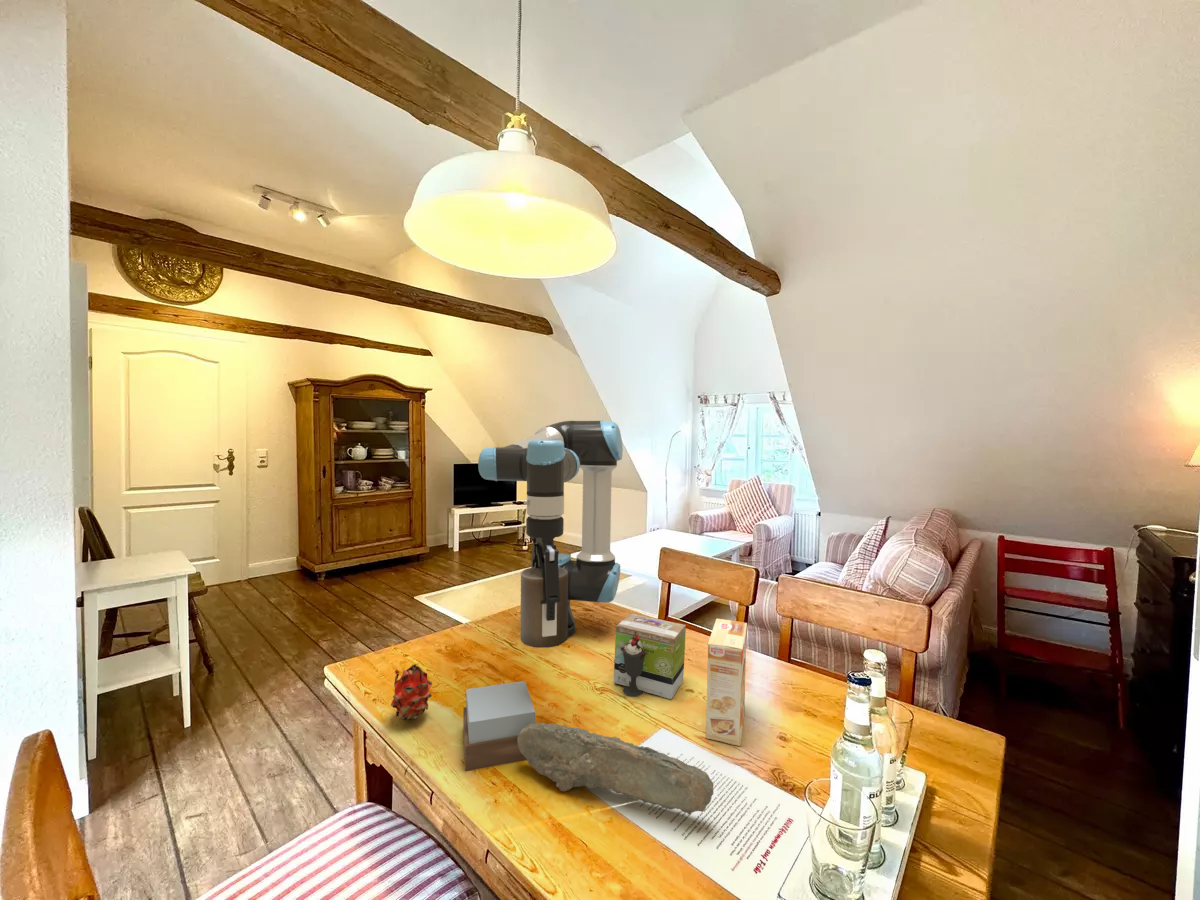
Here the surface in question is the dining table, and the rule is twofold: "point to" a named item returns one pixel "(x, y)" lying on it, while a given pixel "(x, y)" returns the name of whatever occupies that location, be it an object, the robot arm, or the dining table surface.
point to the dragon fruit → (411, 693)
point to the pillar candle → (533, 609)
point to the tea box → (652, 654)
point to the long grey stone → (613, 767)
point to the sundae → (633, 664)
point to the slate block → (498, 711)
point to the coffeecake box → (726, 681)
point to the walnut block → (489, 750)
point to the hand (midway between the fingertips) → (543, 625)
